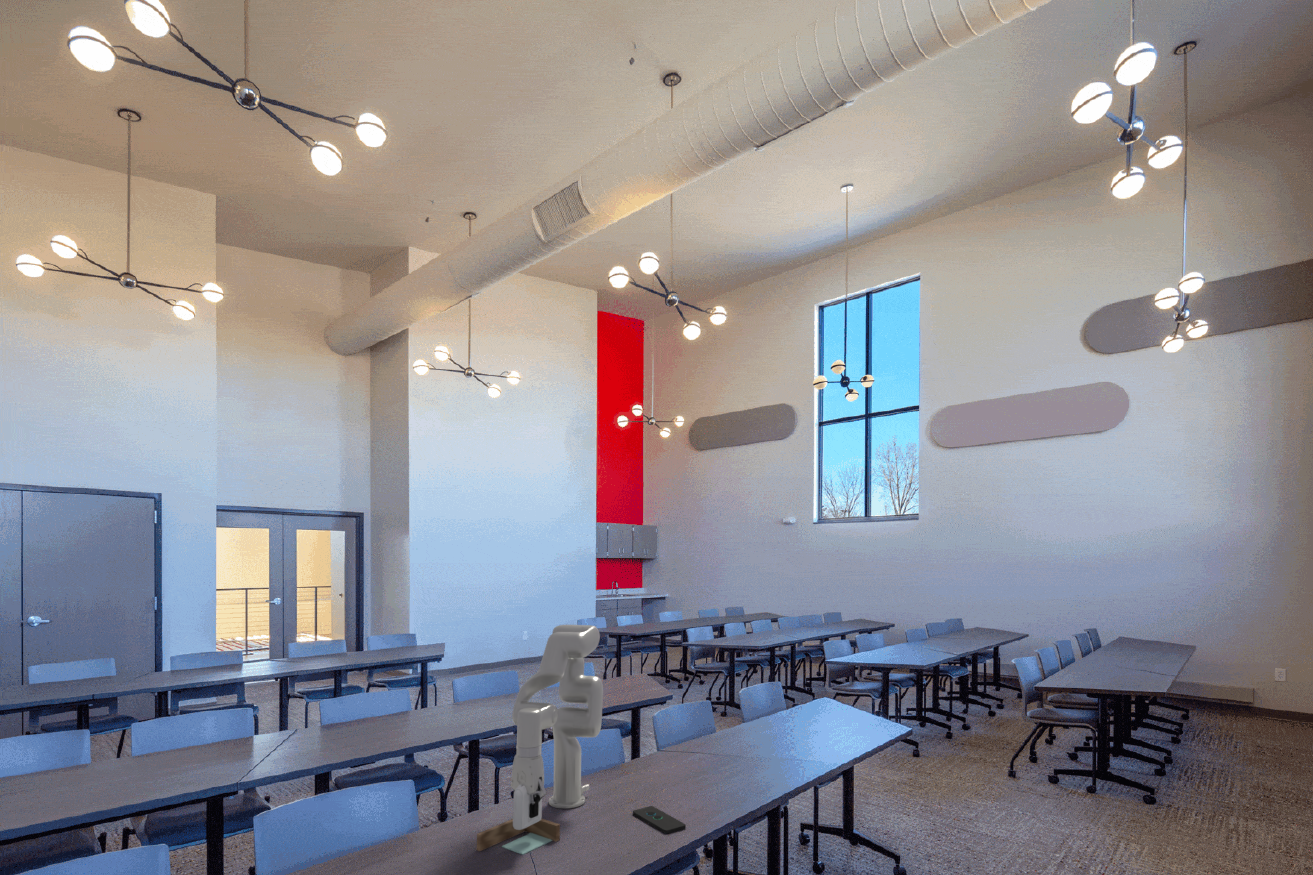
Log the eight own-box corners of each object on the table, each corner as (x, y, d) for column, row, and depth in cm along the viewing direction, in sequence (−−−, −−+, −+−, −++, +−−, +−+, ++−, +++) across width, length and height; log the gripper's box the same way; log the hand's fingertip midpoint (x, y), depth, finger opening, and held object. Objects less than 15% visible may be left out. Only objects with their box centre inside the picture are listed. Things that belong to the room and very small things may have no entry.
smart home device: (652, 804, 242) (687, 824, 226) (652, 810, 242) (687, 829, 225) (631, 810, 237) (665, 830, 221) (631, 815, 237) (665, 836, 221)
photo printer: (532, 817, 220) (533, 775, 222) (543, 819, 218) (544, 777, 220) (510, 828, 212) (511, 784, 213) (521, 831, 209) (522, 787, 211)
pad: (531, 833, 222) (531, 832, 222) (552, 840, 217) (552, 839, 217) (501, 846, 212) (501, 845, 212) (522, 854, 207) (522, 853, 207)
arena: (525, 828, 226) (525, 813, 226) (559, 839, 217) (559, 824, 218) (476, 849, 210) (477, 833, 211) (511, 863, 201) (511, 846, 202)
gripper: (500, 749, 220) (499, 812, 217) (539, 758, 210) (538, 824, 207) (519, 743, 226) (517, 805, 223) (557, 752, 216) (556, 817, 213)
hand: (527, 813), depth 215 cm, fingers closed on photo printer, 4 cm apart
